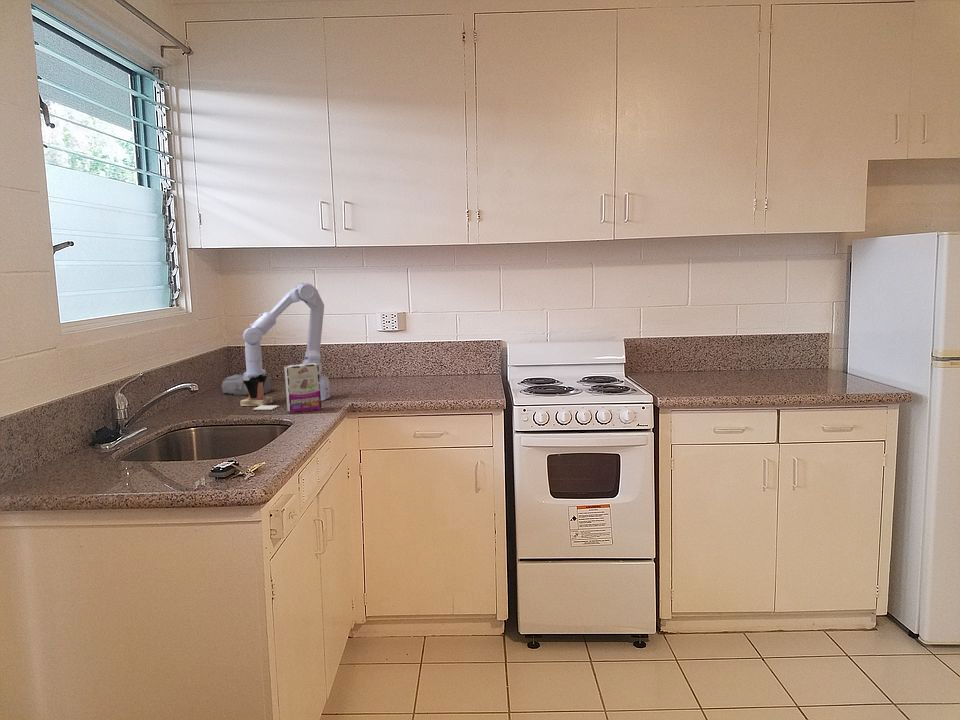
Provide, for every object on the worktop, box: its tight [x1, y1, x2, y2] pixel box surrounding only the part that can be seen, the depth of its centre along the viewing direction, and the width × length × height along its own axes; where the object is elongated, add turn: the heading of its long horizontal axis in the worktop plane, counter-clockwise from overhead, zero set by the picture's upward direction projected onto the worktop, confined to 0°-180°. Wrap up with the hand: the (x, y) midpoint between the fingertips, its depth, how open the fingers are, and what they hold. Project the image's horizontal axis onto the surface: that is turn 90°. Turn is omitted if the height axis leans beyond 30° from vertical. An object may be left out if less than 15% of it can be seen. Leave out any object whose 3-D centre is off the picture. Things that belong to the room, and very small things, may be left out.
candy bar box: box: [283, 363, 322, 414], centre depth 252 cm, size 11×5×16 cm, turn 117°
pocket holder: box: [239, 396, 273, 407], centre depth 267 cm, size 8×8×2 cm
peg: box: [248, 382, 265, 400], centre depth 267 cm, size 4×4×8 cm
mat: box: [252, 404, 280, 411], centre depth 258 cm, size 7×6×1 cm
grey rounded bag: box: [220, 372, 273, 396], centre depth 294 cm, size 15×8×20 cm
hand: (256, 396), depth 267 cm, fingers closed on peg, 4 cm apart
